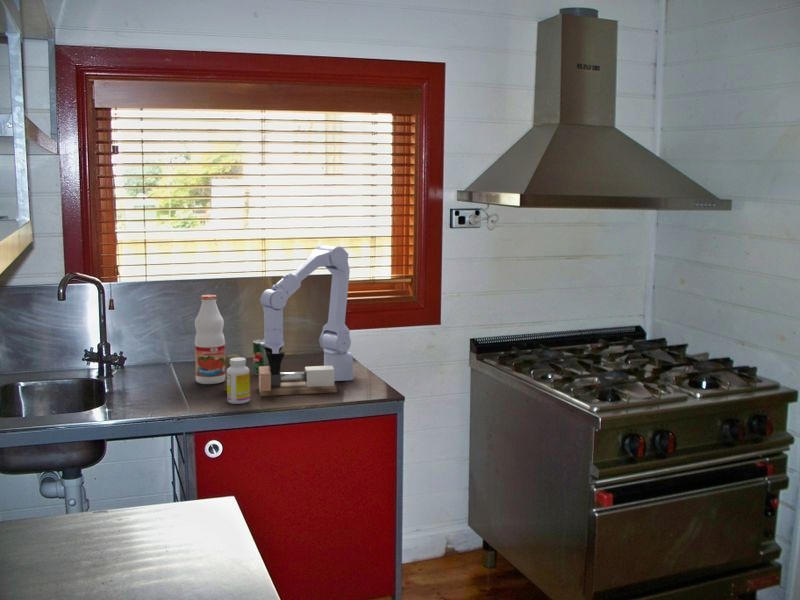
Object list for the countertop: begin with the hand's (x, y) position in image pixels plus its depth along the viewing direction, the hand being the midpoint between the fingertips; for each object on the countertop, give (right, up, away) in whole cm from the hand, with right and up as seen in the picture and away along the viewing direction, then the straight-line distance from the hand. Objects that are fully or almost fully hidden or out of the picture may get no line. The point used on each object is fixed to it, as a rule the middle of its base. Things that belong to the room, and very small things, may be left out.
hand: (274, 371), depth 255 cm
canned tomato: (-7, -3, +24) cm, 25 cm away
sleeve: (+14, -4, +4) cm, 15 cm away
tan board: (+7, -6, +3) cm, 9 cm away
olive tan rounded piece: (-13, -6, +2) cm, 14 cm away
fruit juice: (-22, -4, +12) cm, 26 cm away
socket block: (-3, -5, 0) cm, 6 cm away
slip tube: (+4, -4, +2) cm, 6 cm away
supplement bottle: (-9, -8, -11) cm, 16 cm away
